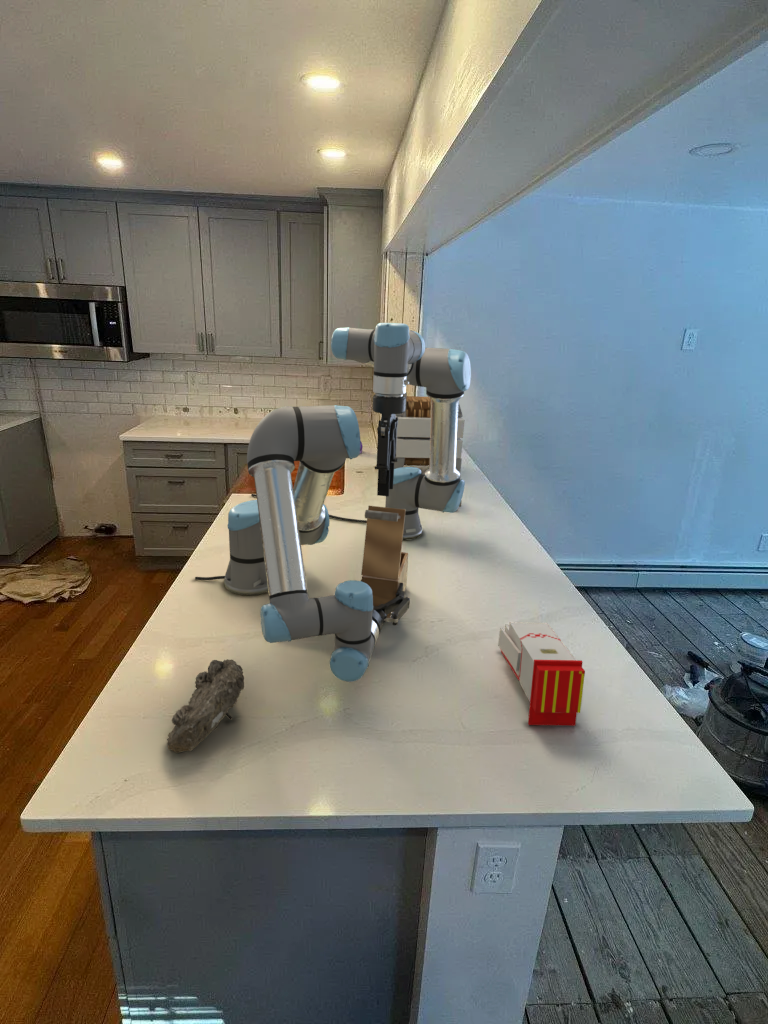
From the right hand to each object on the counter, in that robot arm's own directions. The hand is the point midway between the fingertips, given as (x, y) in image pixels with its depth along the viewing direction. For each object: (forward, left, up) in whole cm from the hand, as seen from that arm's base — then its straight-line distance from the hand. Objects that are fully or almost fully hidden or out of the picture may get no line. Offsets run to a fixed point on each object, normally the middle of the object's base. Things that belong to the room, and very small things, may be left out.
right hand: (385, 491), depth 137 cm
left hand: (-1, +2, -26) cm, 26 cm away
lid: (-1, +1, -14) cm, 14 cm away
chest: (-4, +5, -33) cm, 34 cm away
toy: (+43, +7, -33) cm, 54 cm away
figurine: (-138, +99, -33) cm, 174 cm away
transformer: (-90, +102, -33) cm, 140 cm away
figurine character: (-47, +78, -33) cm, 97 cm away
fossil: (+11, -51, -33) cm, 62 cm away
